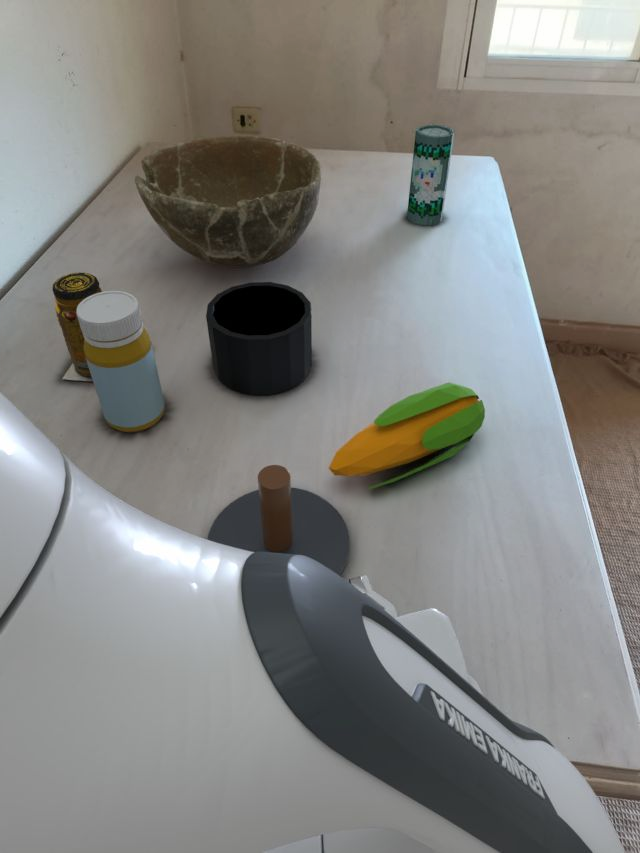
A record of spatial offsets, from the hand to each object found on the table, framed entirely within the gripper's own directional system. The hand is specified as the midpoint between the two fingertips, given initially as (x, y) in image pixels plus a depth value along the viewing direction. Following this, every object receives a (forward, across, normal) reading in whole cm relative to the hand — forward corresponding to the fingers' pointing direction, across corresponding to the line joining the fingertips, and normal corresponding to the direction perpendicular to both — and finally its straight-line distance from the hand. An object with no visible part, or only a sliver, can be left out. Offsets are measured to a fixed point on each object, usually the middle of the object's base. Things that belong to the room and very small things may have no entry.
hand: (300, 594), depth 50 cm
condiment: (+43, +15, +6) cm, 46 cm away
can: (+73, -42, +6) cm, 84 cm away
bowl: (+67, -6, +6) cm, 68 cm away
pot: (+38, -5, +6) cm, 39 cm away
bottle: (+32, +12, +6) cm, 35 cm away
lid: (+9, 0, +5) cm, 11 cm away
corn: (+17, -16, +6) cm, 24 cm away
